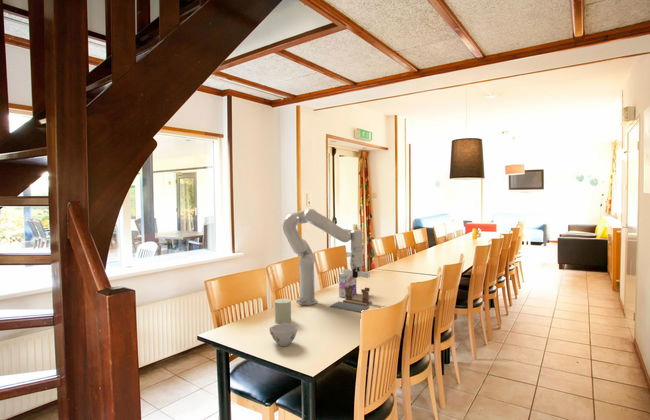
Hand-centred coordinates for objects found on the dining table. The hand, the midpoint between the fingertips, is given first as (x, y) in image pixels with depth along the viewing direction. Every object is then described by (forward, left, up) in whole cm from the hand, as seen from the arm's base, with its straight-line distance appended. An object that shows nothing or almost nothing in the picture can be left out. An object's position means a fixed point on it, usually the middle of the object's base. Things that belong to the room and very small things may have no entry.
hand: (356, 276), depth 234 cm
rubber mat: (-11, 0, -17) cm, 20 cm away
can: (-51, +20, -17) cm, 57 cm away
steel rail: (0, 0, +1) cm, 1 cm away
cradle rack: (0, 0, -17) cm, 17 cm away
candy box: (+12, +13, -17) cm, 25 cm away
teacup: (-75, +1, -17) cm, 77 cm away
